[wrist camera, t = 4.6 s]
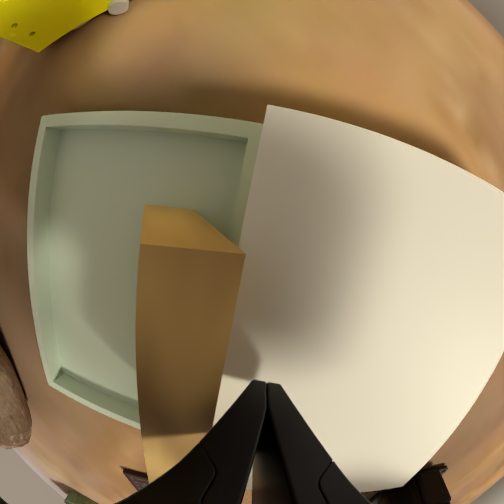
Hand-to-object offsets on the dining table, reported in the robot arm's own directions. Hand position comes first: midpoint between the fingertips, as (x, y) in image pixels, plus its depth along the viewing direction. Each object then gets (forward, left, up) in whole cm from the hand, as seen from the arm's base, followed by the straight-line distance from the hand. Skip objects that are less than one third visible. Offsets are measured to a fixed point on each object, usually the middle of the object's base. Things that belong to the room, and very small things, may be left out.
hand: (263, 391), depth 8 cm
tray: (0, +7, -5) cm, 8 cm away
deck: (0, -4, -5) cm, 6 cm away
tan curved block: (0, +2, -1) cm, 3 cm away
